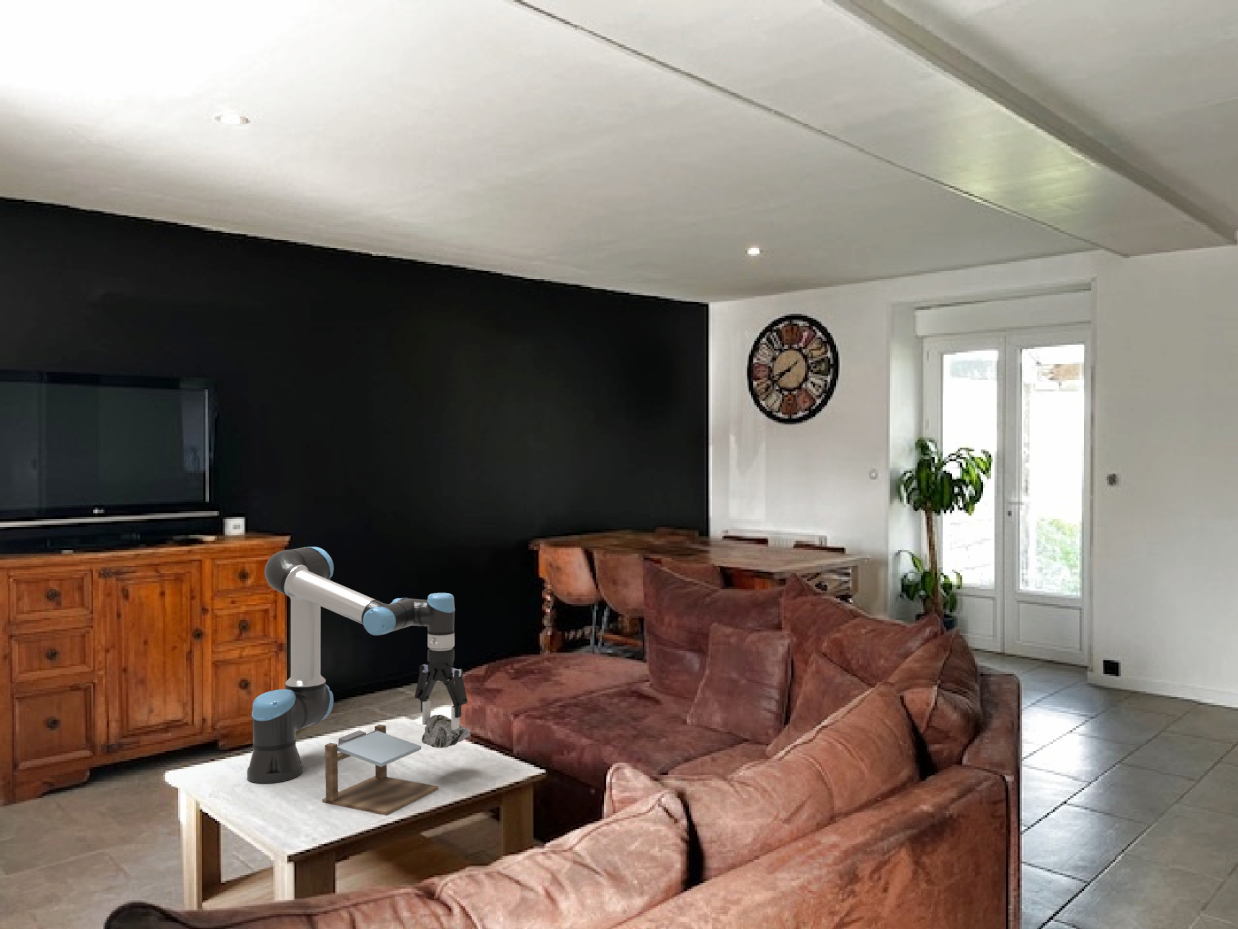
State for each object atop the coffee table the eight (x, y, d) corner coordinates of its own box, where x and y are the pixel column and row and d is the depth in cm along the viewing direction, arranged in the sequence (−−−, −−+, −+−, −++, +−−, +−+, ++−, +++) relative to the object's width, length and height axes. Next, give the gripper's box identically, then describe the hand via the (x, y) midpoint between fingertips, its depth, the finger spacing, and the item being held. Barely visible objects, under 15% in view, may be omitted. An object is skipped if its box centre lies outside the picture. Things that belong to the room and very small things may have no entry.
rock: (445, 750, 259) (446, 724, 259) (414, 745, 263) (415, 720, 263) (473, 737, 272) (474, 713, 273) (443, 732, 276) (444, 708, 276)
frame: (321, 802, 248) (320, 744, 248) (375, 777, 267) (374, 724, 267) (386, 815, 238) (385, 755, 238) (438, 789, 256) (437, 733, 256)
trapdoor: (326, 749, 250) (327, 742, 250) (369, 732, 265) (370, 726, 265) (380, 768, 241) (380, 762, 241) (421, 750, 256) (422, 744, 256)
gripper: (401, 646, 268) (401, 724, 268) (464, 654, 258) (464, 735, 258) (418, 642, 275) (418, 717, 275) (480, 649, 264) (480, 728, 265)
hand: (440, 726), depth 266 cm, fingers closed on rock, 10 cm apart
